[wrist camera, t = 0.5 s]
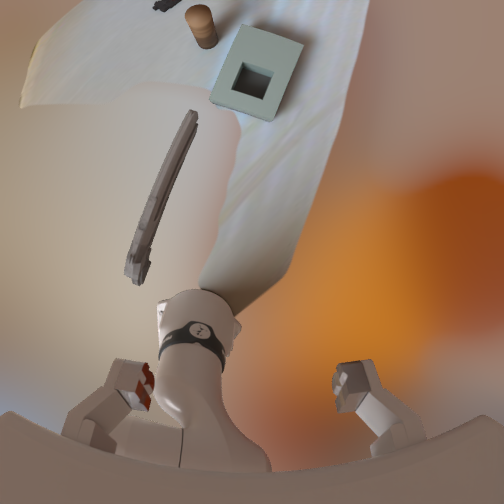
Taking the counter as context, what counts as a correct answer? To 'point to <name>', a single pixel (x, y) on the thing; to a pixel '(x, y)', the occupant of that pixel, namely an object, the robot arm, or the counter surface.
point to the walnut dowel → (202, 25)
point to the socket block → (256, 72)
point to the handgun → (165, 4)
